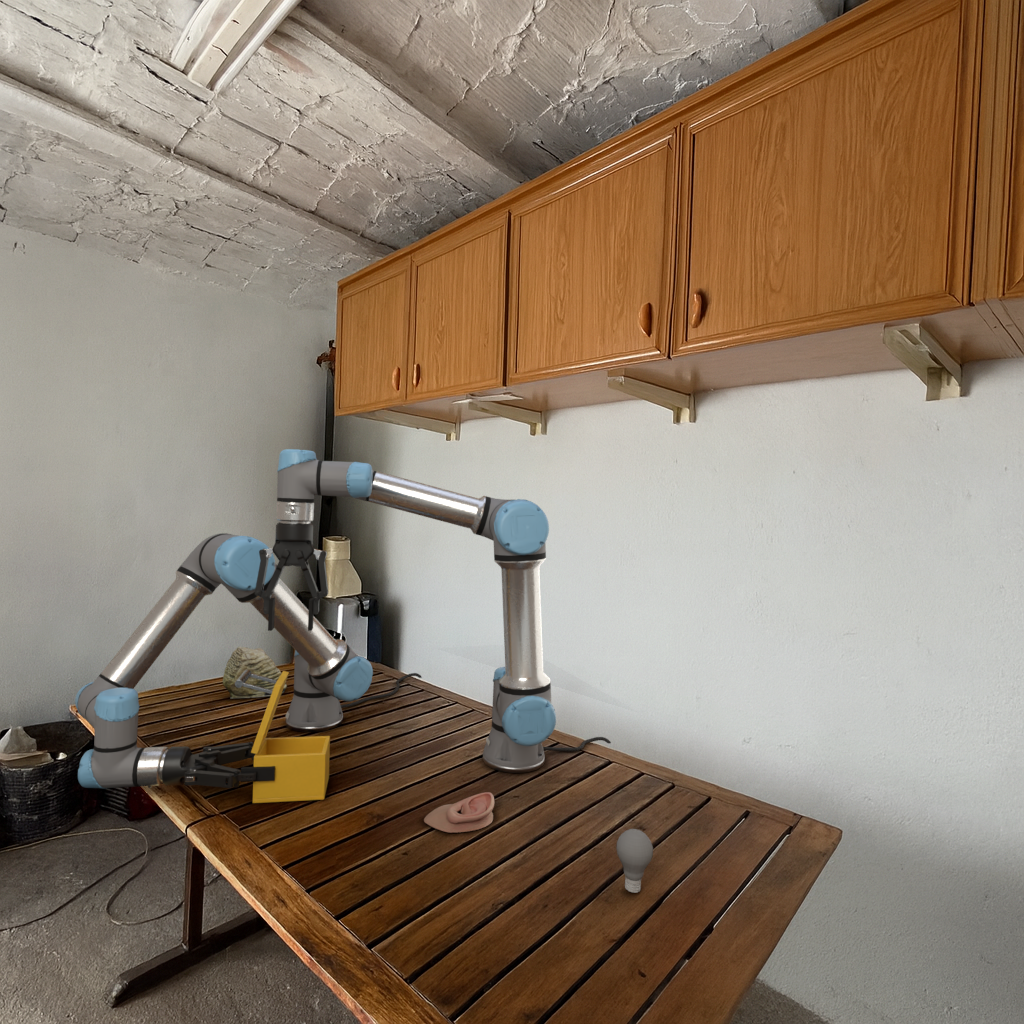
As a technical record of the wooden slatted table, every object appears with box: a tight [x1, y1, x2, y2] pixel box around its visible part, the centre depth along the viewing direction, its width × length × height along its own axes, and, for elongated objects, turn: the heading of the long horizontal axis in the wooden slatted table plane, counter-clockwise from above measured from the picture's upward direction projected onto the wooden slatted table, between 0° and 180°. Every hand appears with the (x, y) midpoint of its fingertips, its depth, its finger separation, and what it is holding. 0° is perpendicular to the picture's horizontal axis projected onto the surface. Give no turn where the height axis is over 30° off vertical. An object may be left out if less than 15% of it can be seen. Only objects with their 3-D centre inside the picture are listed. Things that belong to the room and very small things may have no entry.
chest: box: [252, 735, 331, 804], centre depth 136 cm, size 14×10×10 cm
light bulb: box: [615, 828, 654, 894], centre depth 106 cm, size 6×6×10 cm
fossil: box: [222, 646, 288, 699], centre depth 198 cm, size 9×18×15 cm, turn 132°
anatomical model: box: [423, 791, 495, 834], centre depth 127 cm, size 13×4×12 cm
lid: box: [235, 670, 290, 754], centre depth 134 cm, size 15×10×9 cm
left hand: (279, 762), depth 135 cm, fingers closed on chest, 10 cm apart
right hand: (290, 629), depth 135 cm, fingers open, 7 cm apart
